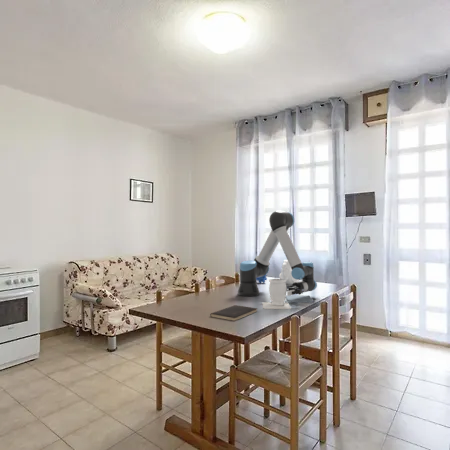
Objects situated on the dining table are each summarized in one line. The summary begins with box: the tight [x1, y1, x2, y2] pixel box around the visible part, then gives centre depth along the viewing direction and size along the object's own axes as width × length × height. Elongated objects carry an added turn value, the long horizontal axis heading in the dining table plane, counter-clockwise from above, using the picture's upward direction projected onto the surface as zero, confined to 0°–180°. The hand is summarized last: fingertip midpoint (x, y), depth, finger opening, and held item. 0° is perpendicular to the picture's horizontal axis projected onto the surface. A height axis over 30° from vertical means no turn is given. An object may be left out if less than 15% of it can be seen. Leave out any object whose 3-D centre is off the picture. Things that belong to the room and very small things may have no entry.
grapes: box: [256, 274, 268, 284], centre depth 285 cm, size 12×7×12 cm, turn 66°
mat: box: [285, 294, 315, 303], centre depth 219 cm, size 16×16×1 cm
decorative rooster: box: [278, 259, 300, 286], centre depth 276 cm, size 25×16×25 cm, turn 138°
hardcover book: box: [210, 304, 258, 321], centre depth 185 cm, size 16×23×2 cm
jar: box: [268, 278, 287, 306], centre depth 205 cm, size 11×10×15 cm
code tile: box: [261, 301, 292, 310], centre depth 203 cm, size 16×16×1 cm
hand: (278, 291), depth 205 cm, fingers open, 13 cm apart
